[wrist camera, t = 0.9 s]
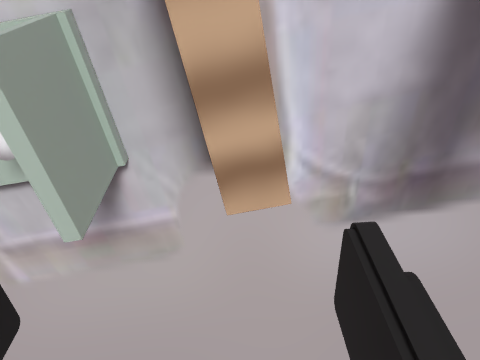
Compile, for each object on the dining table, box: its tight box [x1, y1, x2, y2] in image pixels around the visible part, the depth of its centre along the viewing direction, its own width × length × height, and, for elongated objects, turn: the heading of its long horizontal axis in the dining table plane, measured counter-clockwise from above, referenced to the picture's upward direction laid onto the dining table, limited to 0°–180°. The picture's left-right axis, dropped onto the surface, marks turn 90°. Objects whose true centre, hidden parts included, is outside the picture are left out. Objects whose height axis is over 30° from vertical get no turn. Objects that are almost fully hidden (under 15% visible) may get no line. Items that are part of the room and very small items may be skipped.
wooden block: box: [165, 0, 291, 215], centre depth 25 cm, size 20×5×6 cm, turn 12°
